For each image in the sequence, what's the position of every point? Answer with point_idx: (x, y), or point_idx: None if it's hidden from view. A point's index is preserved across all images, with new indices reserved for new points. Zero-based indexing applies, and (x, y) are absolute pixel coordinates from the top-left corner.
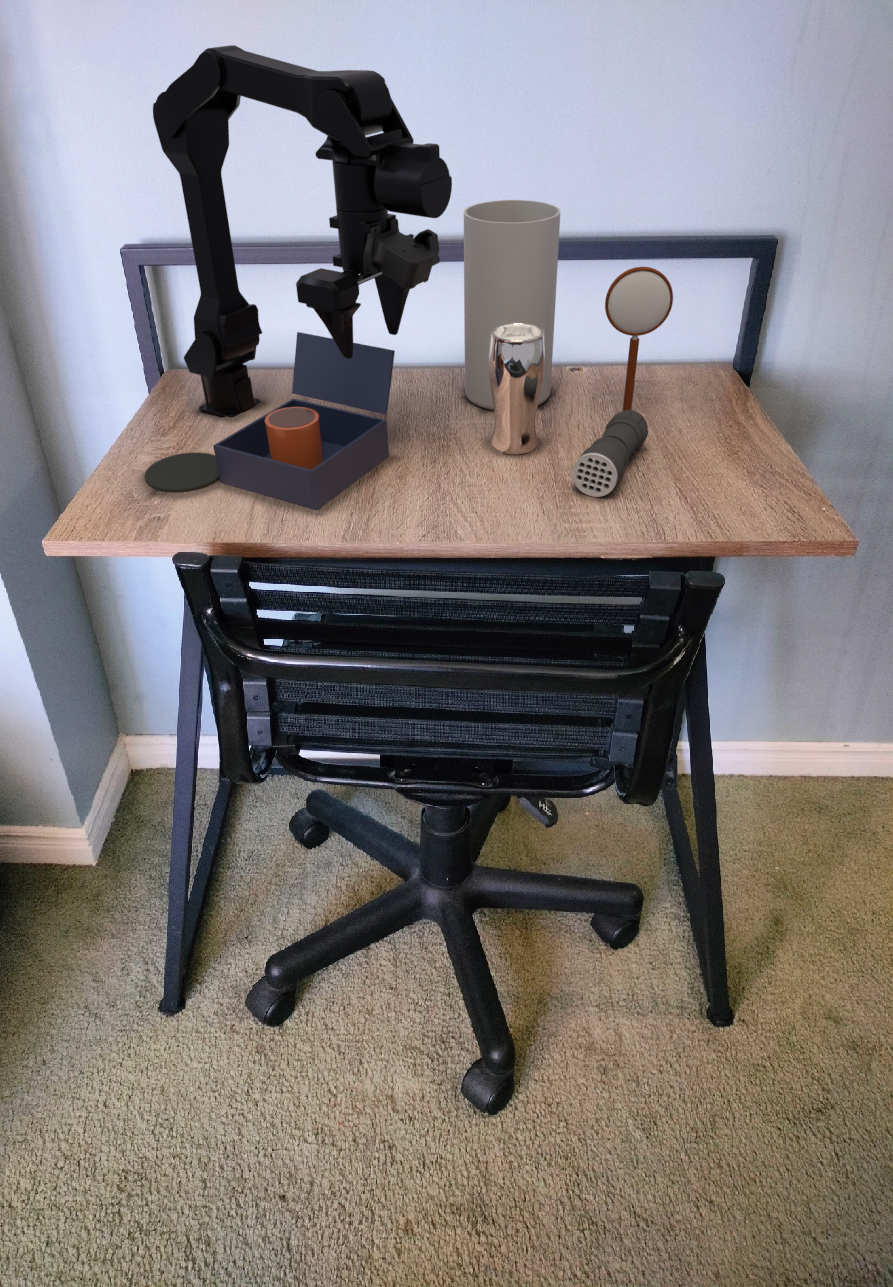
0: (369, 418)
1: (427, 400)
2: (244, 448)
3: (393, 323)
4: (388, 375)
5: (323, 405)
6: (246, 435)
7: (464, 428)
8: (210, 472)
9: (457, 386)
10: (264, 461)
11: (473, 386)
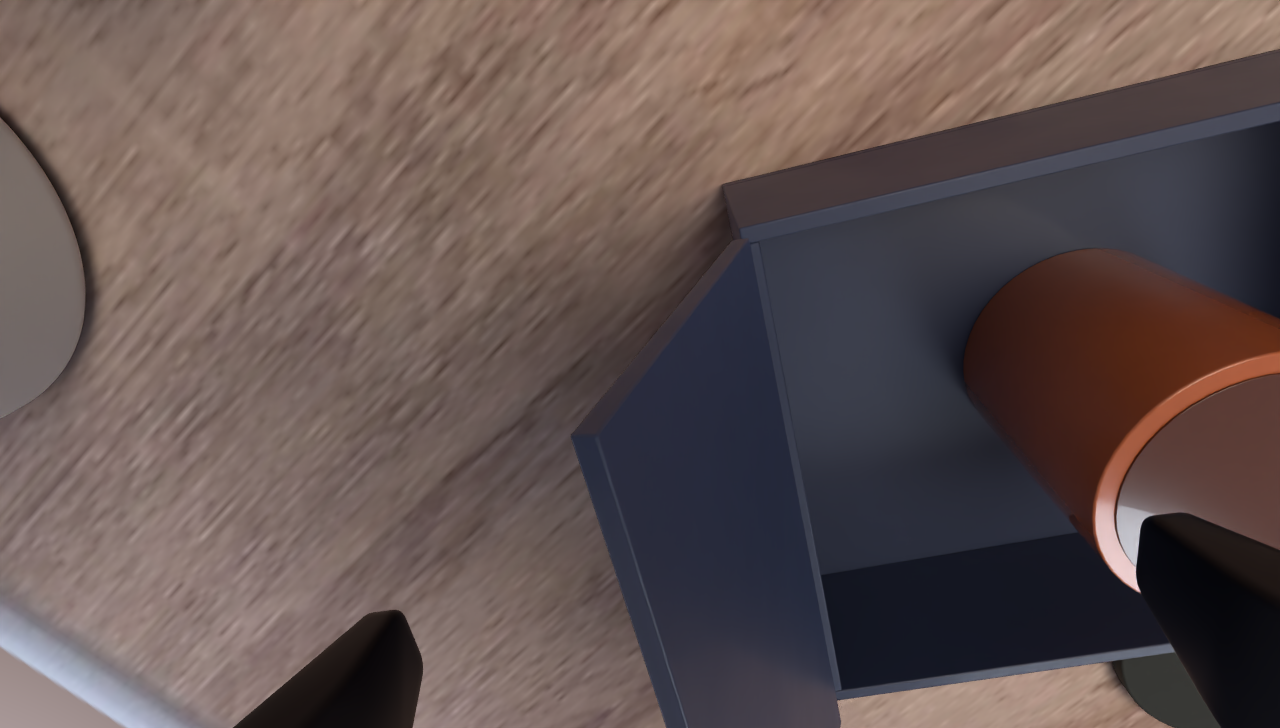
0: (773, 319)
1: (234, 452)
2: None
3: (361, 716)
4: (681, 345)
5: None
6: None
7: (265, 142)
8: None
9: (52, 454)
10: None
11: (19, 302)
